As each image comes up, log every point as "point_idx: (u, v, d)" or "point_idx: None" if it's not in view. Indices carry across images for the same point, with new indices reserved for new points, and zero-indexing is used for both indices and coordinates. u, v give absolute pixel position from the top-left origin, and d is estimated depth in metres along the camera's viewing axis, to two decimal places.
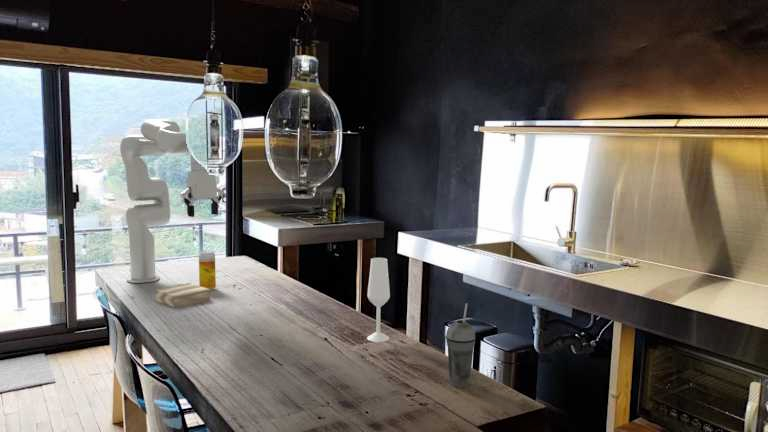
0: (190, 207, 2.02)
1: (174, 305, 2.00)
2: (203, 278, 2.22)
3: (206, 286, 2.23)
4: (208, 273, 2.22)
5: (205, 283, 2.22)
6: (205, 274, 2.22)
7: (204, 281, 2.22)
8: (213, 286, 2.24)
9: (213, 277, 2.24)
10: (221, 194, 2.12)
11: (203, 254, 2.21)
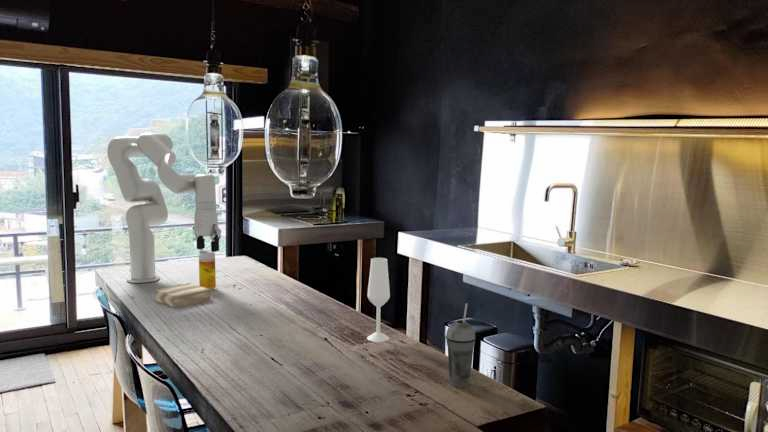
0: None
1: (174, 305, 2.00)
2: (203, 278, 2.22)
3: (206, 286, 2.23)
4: (208, 273, 2.22)
5: (205, 283, 2.22)
6: (205, 274, 2.22)
7: (204, 281, 2.22)
8: (213, 286, 2.24)
9: (213, 277, 2.24)
10: None
11: (203, 254, 2.21)
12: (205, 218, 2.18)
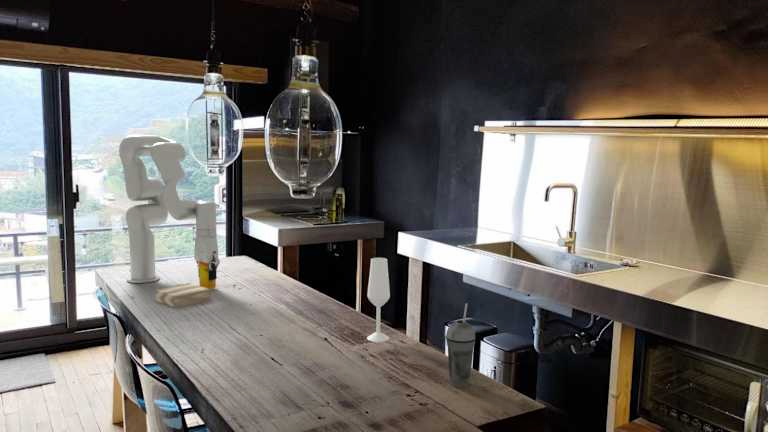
0: None
1: (174, 305, 2.00)
2: (204, 278, 2.22)
3: (206, 286, 2.23)
4: (208, 273, 2.22)
5: (205, 283, 2.22)
6: (206, 274, 2.22)
7: (204, 281, 2.22)
8: (213, 286, 2.24)
9: None
10: None
11: None
12: (205, 245, 2.19)
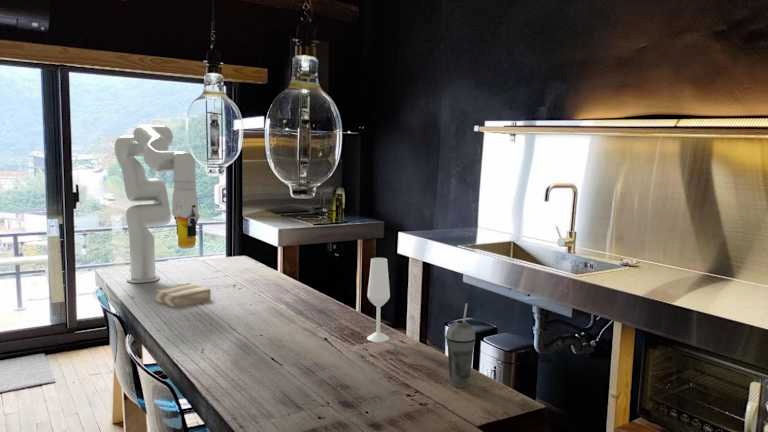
0: None
1: (174, 305, 2.00)
2: (182, 234, 2.07)
3: (185, 243, 2.07)
4: None
5: (184, 240, 2.07)
6: (184, 230, 2.07)
7: (183, 238, 2.07)
8: (193, 243, 2.09)
9: None
10: None
11: None
12: (184, 198, 2.04)
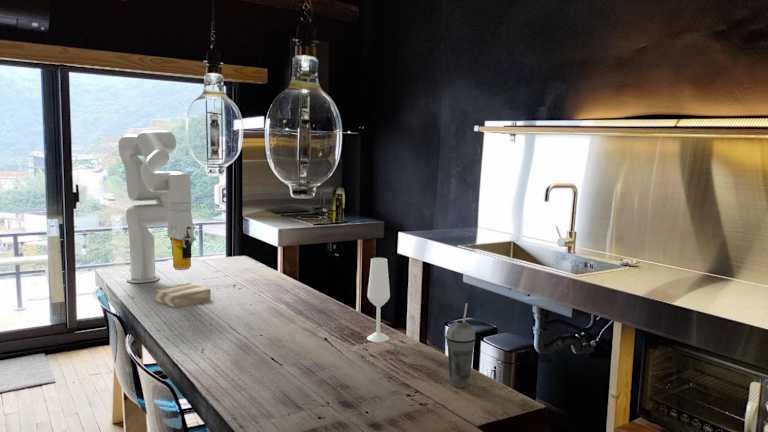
0: None
1: (174, 305, 2.00)
2: (177, 255, 2.05)
3: (180, 265, 2.05)
4: None
5: (179, 261, 2.05)
6: (179, 252, 2.05)
7: (178, 259, 2.05)
8: (188, 265, 2.07)
9: None
10: None
11: None
12: (178, 220, 2.02)
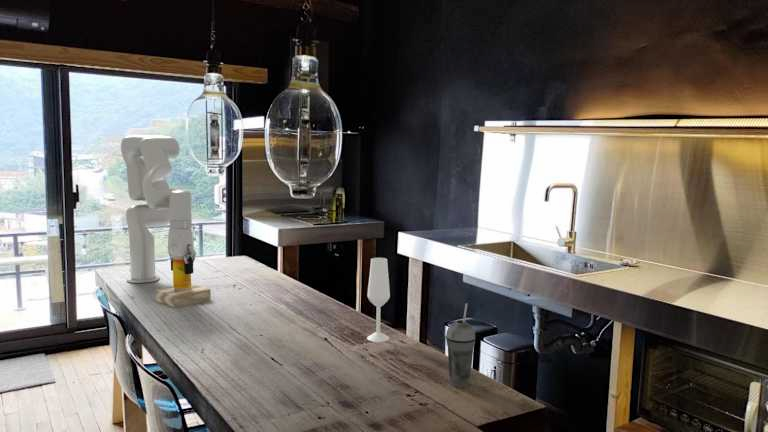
0: None
1: (174, 305, 2.00)
2: (178, 276, 2.06)
3: (181, 286, 2.06)
4: (182, 271, 2.06)
5: (180, 282, 2.06)
6: (180, 273, 2.06)
7: (178, 280, 2.06)
8: (188, 286, 2.08)
9: (188, 276, 2.08)
10: None
11: None
12: (179, 238, 2.03)
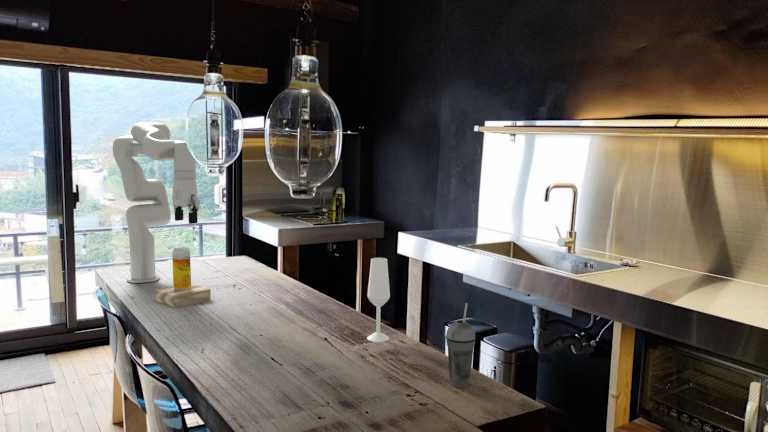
0: None
1: (174, 305, 2.00)
2: (177, 276, 2.06)
3: (181, 286, 2.06)
4: (182, 271, 2.06)
5: (179, 282, 2.06)
6: (180, 273, 2.06)
7: (178, 280, 2.06)
8: (188, 285, 2.08)
9: (188, 276, 2.08)
10: None
11: (177, 251, 2.05)
12: (183, 188, 2.06)
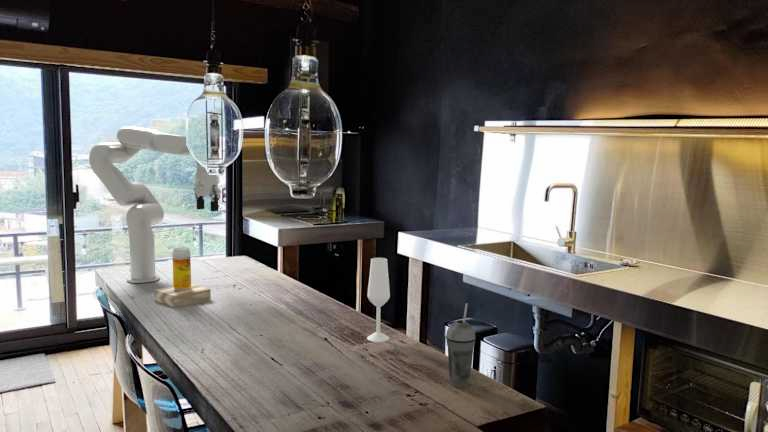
0: None
1: (174, 305, 2.00)
2: (178, 277, 2.06)
3: (181, 286, 2.06)
4: (182, 271, 2.06)
5: (180, 282, 2.06)
6: (180, 273, 2.06)
7: (178, 280, 2.06)
8: (188, 286, 2.08)
9: (188, 276, 2.08)
10: None
11: (177, 251, 2.05)
12: (205, 178, 2.26)
